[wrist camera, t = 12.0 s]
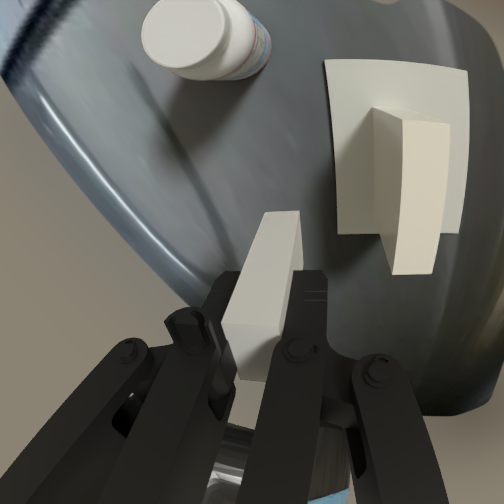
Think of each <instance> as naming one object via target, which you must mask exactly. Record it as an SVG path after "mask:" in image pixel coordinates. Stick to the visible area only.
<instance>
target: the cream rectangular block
mask: <svg viewBox="0 0 504 504" xmlns="http://www.w3.org/2000/svg"><path fill="white" fill-rule="evenodd" d="M372 113H373V132H374V208H373V217H374V220H375V222H376V225H377V228H378V231H379V234H380V237H381V240H382V243H383V246H384V249H385V253H386V256H387V259H388V262H389V266H390V269H391V273H392V275H403V274H432V270H433V266H434V261H435V257H436V252H437V247H438V242H439V237H440V231H441V226H442V219H443V213H444V206H445V198H446V189H447V179H448V168H449V151H450V124H449V123H447V122H444V121H441V120H439V119H436V118H433V117H430V116H428V115H425V114H422V113H419V112H416V111H413V110H409V109H406V108H391V107H372Z"/></svg>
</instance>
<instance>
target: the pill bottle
mask: <svg viewBox="0 0 504 504" xmlns="http://www.w3.org/2000/svg"><path fill="white" fill-rule="evenodd" d="M141 40H142V45H143V48H144V50H145V52H146V54H147V55H148V56H149V57H150V59H151V60H153V61H154V62H155V63H157V64H159V65H161V66H163V67H166V68H168V69H170V70H171V71H172V72H173V73H175V74H177V75H179V76H181V77H183V78H186V79H191V80H240V79H244V78H247V77H249V76H252V75H253V74H255V73H257V72H258V71H259V70H261V69H262V68H263V67H264V65H265V64H266V63H267V61H268V59H269V57H270V54H271V49H272V43H271V38H270V35H269V33H268V31H267V30H266V29H265V27H264V26H263V25H262V24H261V23H260V22H259V21H258V20H257V19H256V18H255V17H254V16H253V15H252V14H251V13H250V12H249V11H248V10H247V9H246V8H245V7H244V6H242V5H241V4H240V3H239V2H237V1H236V0H160V1H159V2H158V3H157V4H156V5H155V6H154V7H153V8H152V9H151V10H150V11H149V13H148V15H147V16H146V18H145V20H144V23H143V26H142V32H141Z"/></svg>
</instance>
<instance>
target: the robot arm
mask: <svg viewBox="0 0 504 504" xmlns="http://www.w3.org/2000/svg"><path fill="white" fill-rule="evenodd" d="M327 291H328V279H327V278H326V276H325V275H324V273H323V271H322V270H303V251H302V238H301V225H300V214H299V211H281V212H265V214H264V216H263V219H262V221H261V224H260V226H259V229H258V231H257V234H256V236H255V239H254V241H253V244H252V246H251V249H250V251H249V254H248V256H247V259H246V261H245V264H244V266H243V269H242V271H225V272H224V273H223V274H221V275H220V276H219V277H218V278H217V279H216V280H215V282H214V284H213V286H212V288H211V291H210V292H209V294H208V296H207V300H206V301H205V303H204V305H203V307H202V309H201V308H197V307H185V308H182V309H179V310H176V311H175V312H173V313H172V314H171V315H169V316H168V317H167V319H166V320H165V321H164V323H165V325H166V327H167V329H168V331H169V333H170V335H171V337H172V339H173V341H174V342H173V344H170V345H165V346H158V347H150V348H148V346H147V344H146V343H145V342H144V341H143V340H142V339H139V338H128V339H125V340H123V341H121V342H119V343H118V344H117V345H116V346H115V347H113V348H112V350H111V351H110V352H109V353H108V354H107V355H106V356H105V357H104V358H103V359H102V361H100V363H99V364H98V365H97V366H96V367H95V368H94V369H93V370H92V371H91V372H90V374H89V375H88V376H87V377H86V378H85V379H84V381H82V382H81V384H80V385H79V386H78V387H77V388H76V389H75V390H74V391H73V393H72V394H71V395H70V396H69V397H68V398H67V399H66V400H65V402H64V403H63V404H62V405H61V406H60V408H58V410H57V411H56V412H55V413H54V414H53V416H52V417H51V418H50V419H49V420H48V421H47V422H46V424H45V425H44V426H43V427H42V428H41V429H40V431H39V432H38V433H37V434H36V436H35V437H34V438H33V439H32V440H31V441H30V443H29V444H28V445H27V446H26V447H25V449H24V450H23V451H22V452H21V453H20V455H19V456H18V457H17V458H16V460H15V461H14V462H13V463H12V465H11V466H10V467H9V468H8V470H7V471H6V472H5V473H4V475H3V476H2V477H1V479H0V504H346V502H347V498H348V493H349V491H350V488H349V483H350V472H351V474H352V479H353V485H354V491H355V497H356V503H357V504H449V502H448V497H447V493H446V490H445V486H444V482H443V479H442V475H441V472H440V468H439V465H438V461H437V459H436V455H435V452H434V449H433V446H432V443H431V440H430V437H429V434H428V431H427V428H426V425H425V422H424V420H423V417H422V414H421V411H420V409H419V406H418V403H417V401H416V398H415V396H414V393H413V391H412V388H411V386H410V383H409V381H408V378H407V376H406V373H405V371H404V369H403V367H402V366H401V364H400V363H399V361H398V360H396V359H395V358H393V357H392V356H390V355H386V354H382V353H378V354H370V355H367V356H365V357H363V358H361V359H360V360H355V359H351V358H348V357H345V356H342V355H340V354H338V353H337V352H335V351H334V350H333V349H332V348H331V347H330V346H329V343H328V341H327V337H326V331H327ZM237 372H238V375H239V378H240V379H241V380H251V381H263V382H266V385H265V389H264V394H263V398H262V402H261V406H260V410H259V415H258V419H257V423H256V427H255V430H253V429H249V428H246V427H242V426H238V425H235V424H231V423H228V422H227V421H228V418H229V415H230V411H231V408H232V404H233V401H234V398H235V393H236V388H235V385H234V383H233V382H234V379H235V375H236V373H237ZM131 393H134V395H132V396H131V397H129V396H130V394H131Z"/></svg>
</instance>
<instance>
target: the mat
mask: <svg viewBox="0 0 504 504" xmlns="http://www.w3.org/2000/svg"><path fill="white" fill-rule="evenodd" d="M324 61H325V68H326V75H327V83H328V91H329V99H330V108H331V118H332V129H333V141H334V154H335V170H336V192H337V232H338V234H379V231H378V228H377V225H376V222H375V220H374V217H373V208H374V132H373V113H372V107H391V108H406V109H409V110H413V111H416V112H419V113H422V114H425V115H428V116H430V117H433V118H436V119H439V120H441V121H444V122H447V123H449V124H450V151H449V168H448V179H447V189H446V198H445V206H444V213H443V219H442V226H441V231H440V233H458V232H459V226H460V221H461V215H462V209H463V202H464V195H465V187H466V178H467V167H468V152H469V90H468V76H467V71H464V70H459V69H454V68H448V67H442V66H436V65H429V64H421V63H412V62H402V61H388V60H365V59H336V60H324Z"/></svg>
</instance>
